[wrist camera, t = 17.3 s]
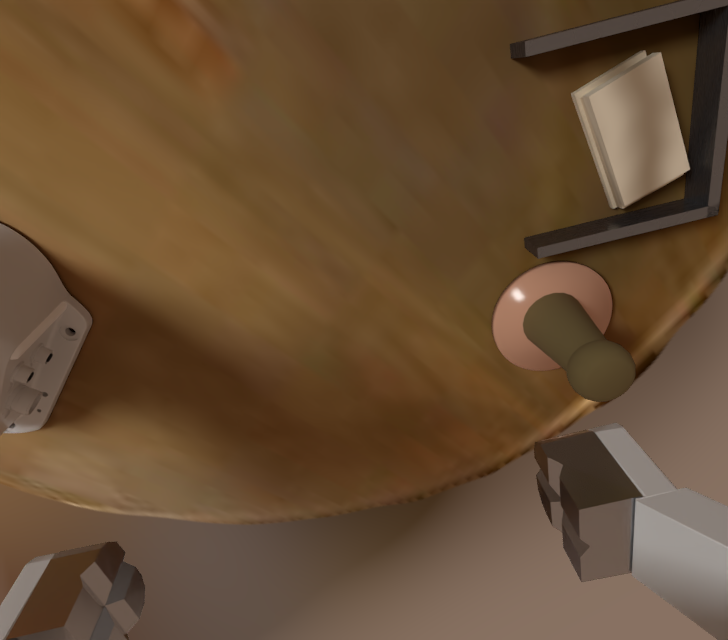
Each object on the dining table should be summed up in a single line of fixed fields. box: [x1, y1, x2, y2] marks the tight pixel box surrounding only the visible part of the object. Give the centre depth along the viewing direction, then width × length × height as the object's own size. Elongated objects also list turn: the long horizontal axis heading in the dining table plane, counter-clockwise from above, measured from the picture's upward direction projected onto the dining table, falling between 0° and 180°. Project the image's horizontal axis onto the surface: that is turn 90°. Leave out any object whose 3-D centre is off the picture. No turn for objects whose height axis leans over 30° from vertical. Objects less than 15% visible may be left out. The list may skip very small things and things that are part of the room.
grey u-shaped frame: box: [510, 0, 728, 259], centre depth 39 cm, size 16×17×3 cm
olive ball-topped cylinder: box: [523, 293, 635, 402], centre depth 43 cm, size 6×6×11 cm
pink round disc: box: [492, 261, 612, 371], centre depth 48 cm, size 12×12×1 cm
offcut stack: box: [571, 50, 690, 209], centre depth 40 cm, size 6×11×3 cm, turn 31°
